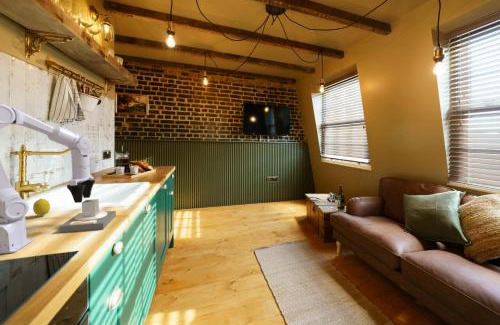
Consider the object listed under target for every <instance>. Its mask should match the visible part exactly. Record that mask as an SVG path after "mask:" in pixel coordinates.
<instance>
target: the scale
mask: <svg viewBox="0 0 500 325" xmlns="http://www.w3.org/2000/svg"><path fill="white" fill-rule="evenodd" d="M116 217H117V211H116V210H110V211H109V210H108V211H104V210H99V214H98V215H96V216H95V217H82V212H78V213H77V214H76V215H75V216H72V217H71V218H70V219H68V220H67V221H65V222H64V223H63V224H61V225H59V233H62V234H63V233H72V232H73V233H75V232H86V231H98V230H101V231H102V230H105V229H106V227H107V226H108V225H110V223H111V222H113V220H114V219H115V218H116Z"/></svg>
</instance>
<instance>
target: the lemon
mask: <svg viewBox="0 0 500 325" xmlns="http://www.w3.org/2000/svg"><path fill="white" fill-rule="evenodd" d="M50 210H51V205H50V202H49V200H47V199H45V198H39V199H37V200H36V201H35V202H34V203H33V206H32V211H33V212H34V214H35V215H37V216H40V217H44V216H45V215H47V214H48V213H49V212H50Z"/></svg>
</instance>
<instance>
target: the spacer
mask: <svg viewBox="0 0 500 325" xmlns="http://www.w3.org/2000/svg"><path fill="white" fill-rule="evenodd" d="M99 211H100V203H99V198H98V199H97V198H95V199H92V198H91V199H85V200H82V202H81V213H82V217H95V216H96V215H98V214H99Z"/></svg>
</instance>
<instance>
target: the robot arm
mask: <svg viewBox="0 0 500 325" xmlns="http://www.w3.org/2000/svg"><path fill="white" fill-rule="evenodd" d="M9 125H19V126H22V127H25V128H28V129H30V130H33V131H35V132H39V133H41V134H43V135H46V136H47V138H48V139H49V140H50V141H52V142H55V143H57V144H59V145H63V146H64V147H67V148H68V150H70V155H71V158H70V159H71V175H72V177H71V179H70V180H69V184H67V185H66V189H67V190H68V191H69V192H70V194H71V197H72V198H73V201H74V203H75V204H76V203H78V204H80V203H81V204H82V202H83V198H84V199H90V197H91V195H92V191H93V187H94V185H95V183H96V180H95V179H94V176H93V174H91V167H90V166H91V164H90V162H91V161H90V154H91V153H90V152H91V150H92V147H93V143H92V142H91V141H92V140H90V139H89V137H88V136H83V135H79V133H78V132H74V131H71V130H69V129H67V126H64V125H55V126H52V125H50V124H48V123H46V122H44V121H41V120H39V119H37V118H35V117H33V116H31V115H30V114H28V113H25V112H23V111H21V110H20V109H17V108H14V107H11V106H9V105H7V104H3V103H0V130H1V129H3V128H5V127H7V126H9ZM11 183H12V182H11V181H10V178H9V176H8V174H7V172H6V170H5V167H4V165H3V163H2V160H1V159H0V255H1V254H2V255H3V254H12V253H16V252H18V251H19V250H20V249H22V248H23V247H25V246H26V245H28V244H30V243H31V242H33V241H34V240H35V238H34V237H31V238H27V237H28V235H27V226H26V225H27V223H26V215H27V214H28V212H29V209H30V206H29V203H28V202H27V201H26V200H24V199H23V198H22V196H21V194H20V193H19V192H18V191H17V190H15V189H14V188H13V186H12V184H11Z"/></svg>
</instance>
